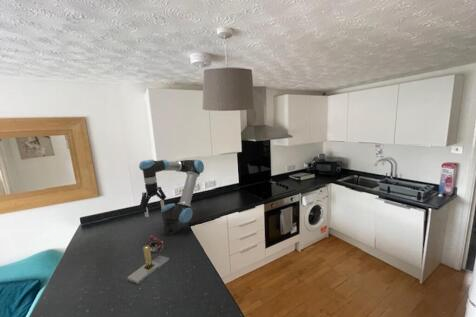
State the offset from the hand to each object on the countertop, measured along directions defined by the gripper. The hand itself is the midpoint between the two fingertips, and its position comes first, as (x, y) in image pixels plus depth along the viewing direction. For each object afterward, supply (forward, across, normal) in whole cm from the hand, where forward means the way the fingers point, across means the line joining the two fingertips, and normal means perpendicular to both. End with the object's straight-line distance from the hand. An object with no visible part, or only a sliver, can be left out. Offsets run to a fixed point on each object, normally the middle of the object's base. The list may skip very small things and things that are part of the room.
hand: (155, 212), depth 137 cm
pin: (+29, +17, +9) cm, 35 cm away
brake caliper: (+29, 0, -6) cm, 30 cm away
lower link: (+29, +12, +9) cm, 33 cm away
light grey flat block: (+29, +22, +9) cm, 37 cm away
